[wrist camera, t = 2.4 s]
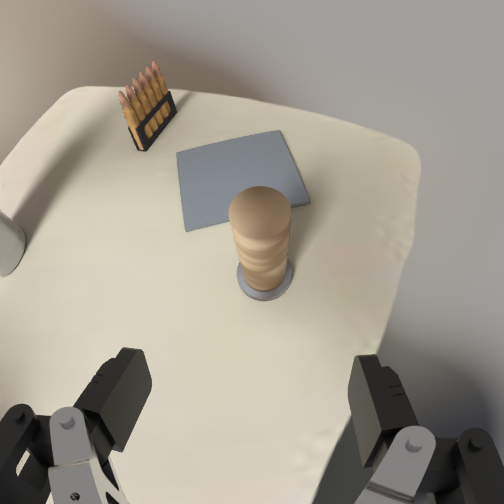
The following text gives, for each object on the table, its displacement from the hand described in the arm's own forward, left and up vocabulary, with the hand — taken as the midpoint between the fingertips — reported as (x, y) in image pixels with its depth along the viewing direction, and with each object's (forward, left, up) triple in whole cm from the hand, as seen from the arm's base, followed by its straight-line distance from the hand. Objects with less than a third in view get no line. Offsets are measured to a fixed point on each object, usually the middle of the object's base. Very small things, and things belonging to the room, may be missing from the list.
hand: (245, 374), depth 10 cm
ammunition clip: (-8, +41, -20) cm, 47 cm away
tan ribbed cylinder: (+3, +11, -20) cm, 23 cm away
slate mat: (+3, +26, -20) cm, 33 cm away
